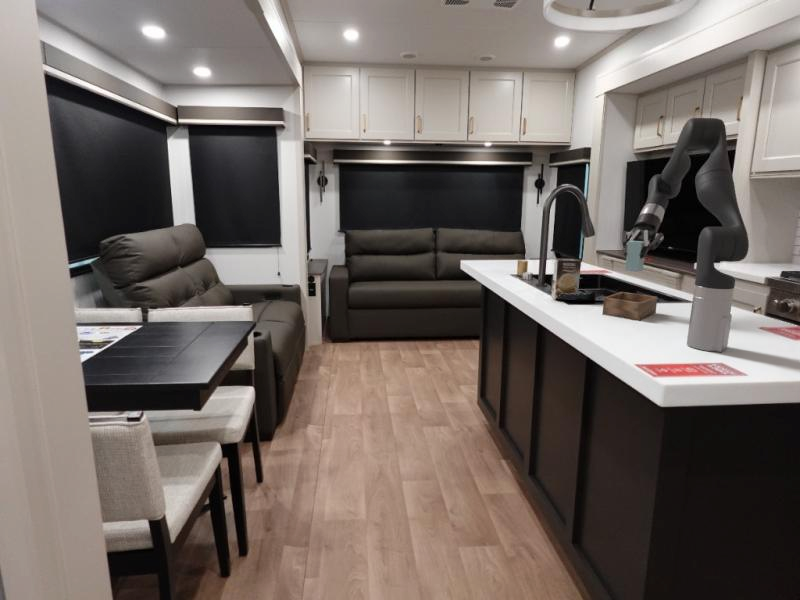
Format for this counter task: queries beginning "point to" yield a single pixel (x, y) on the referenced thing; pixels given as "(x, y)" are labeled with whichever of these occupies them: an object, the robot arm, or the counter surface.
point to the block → (634, 256)
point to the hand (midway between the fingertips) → (633, 256)
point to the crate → (629, 306)
